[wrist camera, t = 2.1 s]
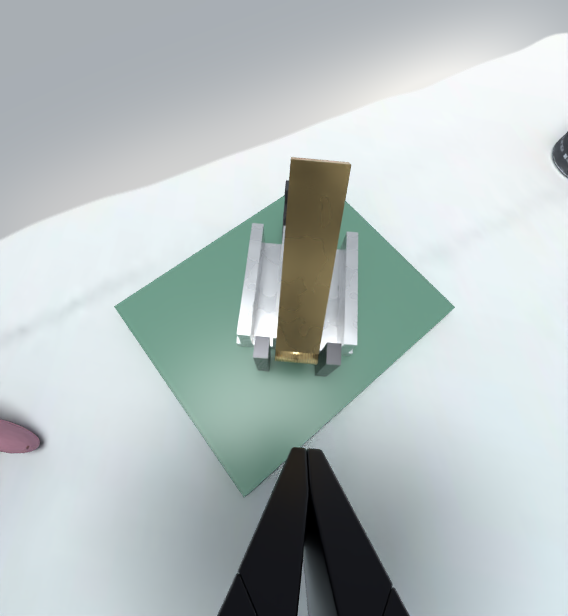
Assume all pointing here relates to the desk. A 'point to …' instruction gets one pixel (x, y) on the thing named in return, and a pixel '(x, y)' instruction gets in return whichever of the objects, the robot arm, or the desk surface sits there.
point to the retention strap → (309, 255)
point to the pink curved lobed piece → (16, 438)
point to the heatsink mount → (266, 295)
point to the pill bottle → (562, 154)
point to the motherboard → (282, 375)
